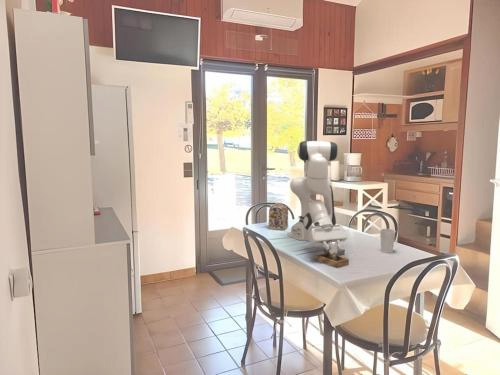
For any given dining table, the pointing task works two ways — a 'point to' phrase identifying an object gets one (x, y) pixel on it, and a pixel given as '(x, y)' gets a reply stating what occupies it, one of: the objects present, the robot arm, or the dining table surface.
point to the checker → (339, 251)
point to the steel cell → (333, 250)
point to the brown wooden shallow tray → (335, 263)
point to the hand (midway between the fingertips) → (333, 249)
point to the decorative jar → (278, 217)
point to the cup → (387, 240)
